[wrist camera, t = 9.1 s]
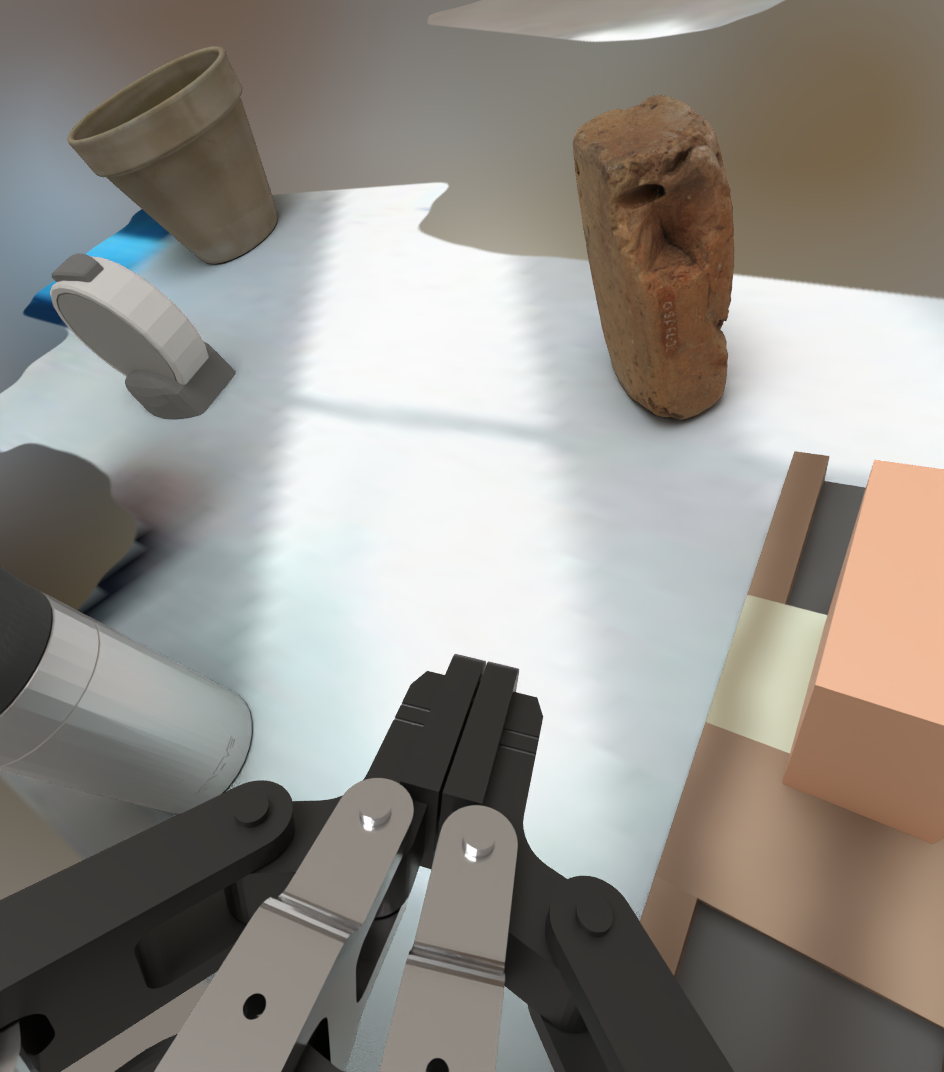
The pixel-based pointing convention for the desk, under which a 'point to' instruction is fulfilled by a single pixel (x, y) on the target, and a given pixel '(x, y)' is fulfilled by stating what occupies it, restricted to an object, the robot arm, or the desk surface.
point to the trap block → (882, 664)
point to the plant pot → (185, 154)
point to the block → (659, 250)
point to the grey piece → (139, 336)
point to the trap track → (796, 848)
